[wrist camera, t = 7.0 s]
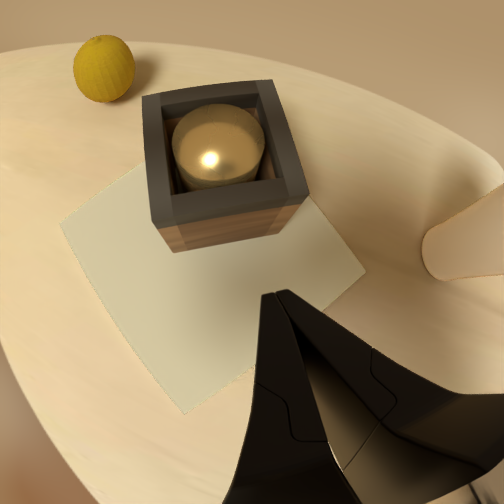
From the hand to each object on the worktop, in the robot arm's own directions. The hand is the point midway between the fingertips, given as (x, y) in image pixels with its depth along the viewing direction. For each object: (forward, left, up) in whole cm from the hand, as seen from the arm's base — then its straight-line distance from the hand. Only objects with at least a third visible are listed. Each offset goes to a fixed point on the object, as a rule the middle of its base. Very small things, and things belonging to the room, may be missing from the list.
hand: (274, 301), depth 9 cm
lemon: (+23, -2, -14) cm, 27 cm away
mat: (+5, -1, -13) cm, 14 cm away
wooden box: (+8, -4, -13) cm, 16 cm away
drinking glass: (-8, -18, -14) cm, 24 cm away
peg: (+8, -4, -13) cm, 16 cm away
